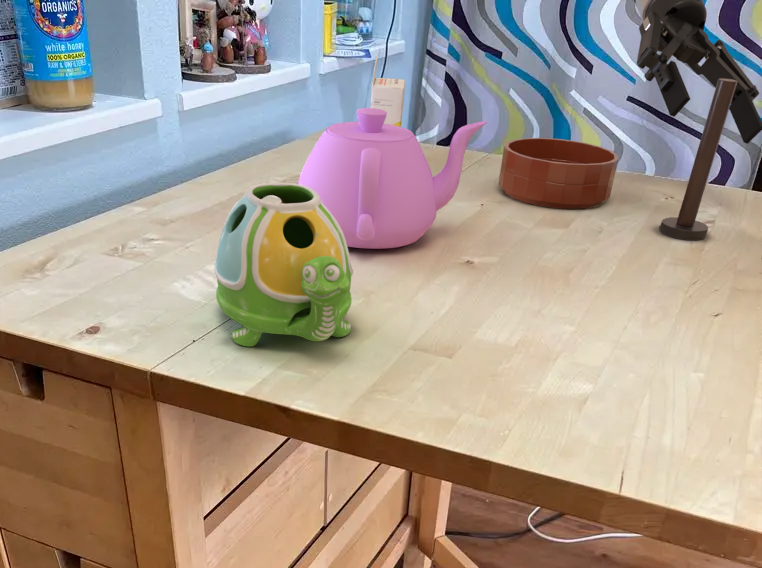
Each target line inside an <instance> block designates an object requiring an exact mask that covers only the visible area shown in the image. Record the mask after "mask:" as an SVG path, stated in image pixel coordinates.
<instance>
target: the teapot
mask: <svg viewBox="0 0 762 568" xmlns="http://www.w3.org/2000/svg"><path fill="white" fill-rule="evenodd" d="M386 115H387V112H385V111H384V110H381V109H375V108H370V107H361V108H359V109H357V110H356V117H357V121H345V122H337V123H333V124H331V125H329V126H328V127H326V129H325V130H324V131H323V132H322V134H321V135H320V136H319V138H318V140H317V141H316V143H315V145H314V146H313V148H312V150H311V152H310V153H309V155H308V157H307V159H306V161H305V163H304V165H303V167H302V170H301V172H300V174H299V177H298V180H297V184H301V185H305V186H308V187H310V188H312V189H313V190H314V191H316V192H317V193H318V195H319V196H320V199H321V202H322V203H323V204H324V206H325V207H326V208H327V209H328V210H329V211H330V213H331V214H332V215H333V217H334V218H335V219H336V221H337V222H338V224H339V226H340V227H341V230H342V232H343V234H344V237H345V240H346V244H347V247H348V248H358V249H374V250H375V249H376V250H377V249H379V250H381V249H397V248H400V247H404V246H408V245H411V244H414V243H415V242H417V241H418V240H419V239H420V238H421V237H422V236H423V235H425V234H426V233H427V232H428V231H429V229H430V228H431V227H432V226H433V225H434V222H435V221H436V218H437V212H438V211H439V210H441V209H442V208H444V207H445V206H447V205H448V203H450V201H451V200H452V199H453V198H454V196H455V194H456V193H457V190H458V187H459V184H460V181H461V177H462V176H461V175H462V169H463V163H464V156H465V153H466V149H467V147H468V144H469V142H470V140H471V138H472V137H473V136H474V134H476V132H477V131H478V130H480V129H481V128H482V127H484V126H485V125H486V124H487V123H488V121H487V120H483V121H478V122H473V123H469V124H465V125H463V126H461V127H460V128H458V129H457V130H456V132H455V133H454V134H453V136H452V138H451V141H450V145H449V150H448V154H447V160H446V162H445V164H444V166H443V168H442V169H441V171H440V172H438V173H437V174H436V175H434V176H433V173H432V170H431V168H430V167H431V166H430V164H429V163H428V160H427V158H426V155H425V152H424V150H423V149H422V146H421V144H420V143H419V140H418V139H417V137H416V135H415V134H414V133H413V131H411V130H410V129H408V128H406V127H403V126H401V127H399V126H395V125H390V124H383V123H384V121H385V119H386Z"/></svg>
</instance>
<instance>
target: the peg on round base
mask: <svg viewBox="0 0 762 568" xmlns="http://www.w3.org/2000/svg"><path fill="white" fill-rule="evenodd" d="M736 85H737V81H736V80H732V79H718V82H717V85H716V88H714V92H713V96H712V99H711V103H710V107H709V109H708V113H707V117H706V120H705V123H704V127H703V130H702V135H701V137H700V141H699V144H698V147H697V151H696V154H695V157H694V161H693V165H692V168H691V172H690V174H689V178H688V182H687V185H686V189H685V192H684V196H683V199H682V202H681V205H680V209H679V213H678V216H677V217H676V216H675V217H674V216H673V217H671V216H670V217H665V218H663V219H662V220H661V221H660V225H659V228H658V231H659V232H660V233H661V234H662V235H665V236H667V237H669V238H673V239H677V240H684V241H701V240H705V238H706V237H707V234H708V231H709V226H708V225H707V224H706V223H703V222H702V221H700V220H696V219H697V215H698V212H699V209H700V206H701V202H702V199H703V197H704V193H705V189H706V186H707V183H708V180H709V176H710V173H711V170H712V166H713V163H714V159H715V157H716V154H717V150H718V148H719V144H720V140H721V136H722V134H723V131H724V128H725V124H726V120H727V118H728V114H729V112H730V109H729V108H730V105H731V101H732V98H733V94H734V91H735V88H736Z"/></svg>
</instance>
